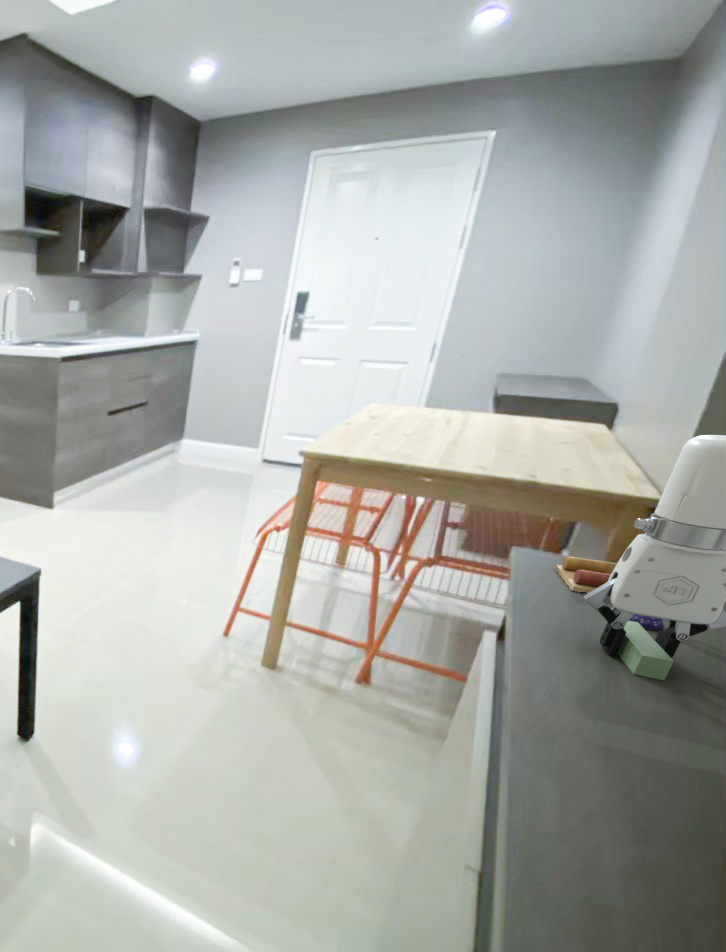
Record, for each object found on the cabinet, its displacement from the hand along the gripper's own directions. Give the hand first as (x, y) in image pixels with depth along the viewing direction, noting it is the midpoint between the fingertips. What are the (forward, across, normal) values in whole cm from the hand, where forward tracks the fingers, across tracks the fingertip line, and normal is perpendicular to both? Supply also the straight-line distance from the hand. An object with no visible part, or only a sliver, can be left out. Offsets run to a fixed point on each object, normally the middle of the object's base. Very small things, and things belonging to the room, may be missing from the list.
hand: (632, 654), depth 85 cm
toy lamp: (+1, +5, +14) cm, 15 cm away
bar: (0, 0, 0) cm, 0 cm away
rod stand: (0, +4, +29) cm, 29 cm away
